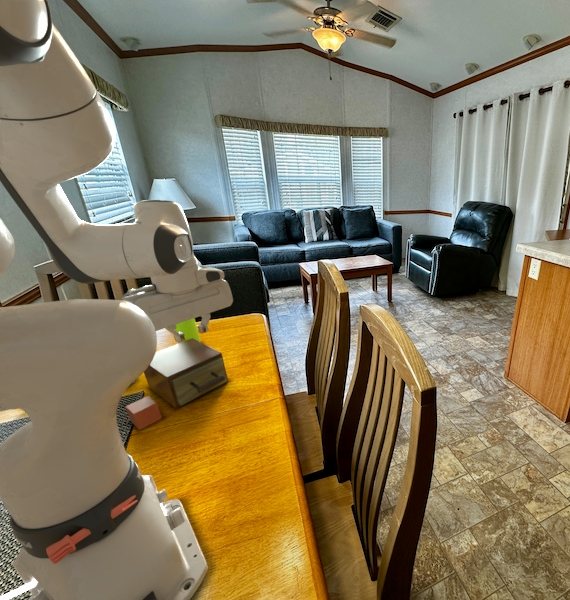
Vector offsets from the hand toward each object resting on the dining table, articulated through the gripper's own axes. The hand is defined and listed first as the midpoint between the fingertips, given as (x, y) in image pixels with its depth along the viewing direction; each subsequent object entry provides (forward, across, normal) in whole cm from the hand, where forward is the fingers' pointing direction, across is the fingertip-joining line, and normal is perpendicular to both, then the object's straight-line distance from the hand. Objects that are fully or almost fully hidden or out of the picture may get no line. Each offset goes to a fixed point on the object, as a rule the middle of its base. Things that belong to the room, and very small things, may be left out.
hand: (192, 336), depth 75 cm
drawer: (+16, 0, +5) cm, 17 cm away
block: (+17, -12, +4) cm, 21 cm away
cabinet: (+17, 0, +10) cm, 20 cm away
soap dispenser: (+17, +10, +31) cm, 37 cm away
